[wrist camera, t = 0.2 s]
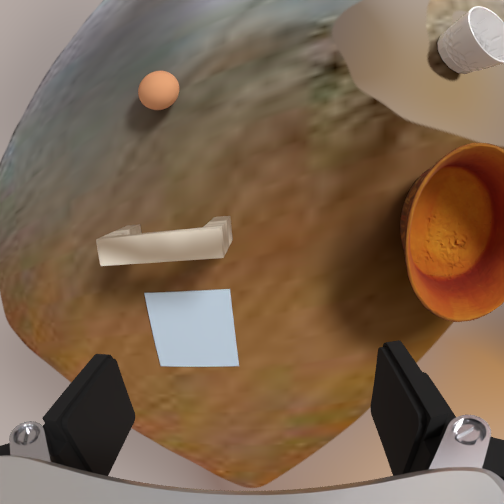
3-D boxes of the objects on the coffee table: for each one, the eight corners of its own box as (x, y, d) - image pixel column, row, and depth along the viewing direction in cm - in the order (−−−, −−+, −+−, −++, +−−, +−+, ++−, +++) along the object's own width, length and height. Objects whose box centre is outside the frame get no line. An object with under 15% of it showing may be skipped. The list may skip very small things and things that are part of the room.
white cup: (467, 88, 34) (508, 75, 24) (426, 54, 33) (461, 31, 23) (481, 53, 32) (518, 36, 22) (442, 20, 31) (475, -5, 22)
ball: (146, 81, 36) (131, 71, 31) (182, 73, 36) (171, 62, 31) (147, 116, 37) (132, 110, 33) (184, 109, 37) (173, 101, 32)
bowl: (512, 233, 38) (553, 248, 29) (421, 321, 43) (451, 355, 33) (453, 117, 35) (495, 108, 26) (344, 209, 39) (368, 222, 30)
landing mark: (144, 292, 43) (144, 293, 43) (229, 288, 42) (229, 289, 42) (161, 365, 46) (160, 366, 46) (238, 365, 45) (238, 365, 45)
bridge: (127, 225, 41) (95, 239, 33) (230, 215, 40) (220, 228, 32) (130, 247, 42) (100, 265, 33) (232, 239, 41) (223, 257, 32)
